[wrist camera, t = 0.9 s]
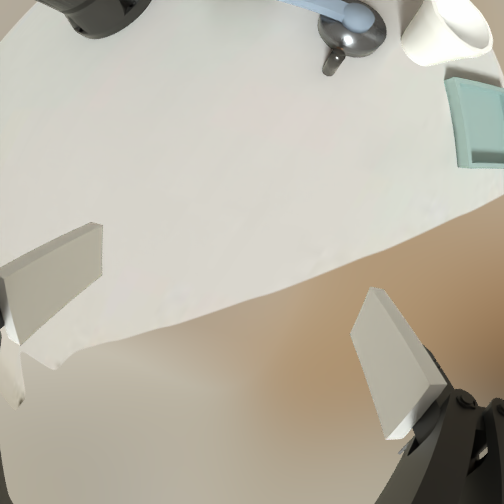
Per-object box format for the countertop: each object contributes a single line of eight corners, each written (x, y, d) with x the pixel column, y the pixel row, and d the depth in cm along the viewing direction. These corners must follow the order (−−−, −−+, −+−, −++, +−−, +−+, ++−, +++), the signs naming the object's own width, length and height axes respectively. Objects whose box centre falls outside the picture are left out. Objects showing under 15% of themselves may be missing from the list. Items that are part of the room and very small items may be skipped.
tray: (443, 80, 28) (454, 76, 25) (498, 91, 26) (508, 89, 23) (457, 167, 32) (468, 168, 29) (508, 167, 30) (519, 169, 27)
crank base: (305, 7, 27) (309, -16, 21) (369, 9, 26) (383, -11, 19) (323, 76, 30) (333, 60, 24) (390, 76, 29) (410, 63, 23)
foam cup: (432, 26, 25) (474, -4, 12) (451, 76, 27) (502, 58, 15) (382, 21, 26) (417, -20, 14) (402, 74, 29) (450, 47, 16)
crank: (372, 18, 24) (380, 8, 21) (365, 38, 25) (373, 28, 22) (279, -16, 23) (279, -29, 20) (269, 3, 25) (268, -10, 21)
